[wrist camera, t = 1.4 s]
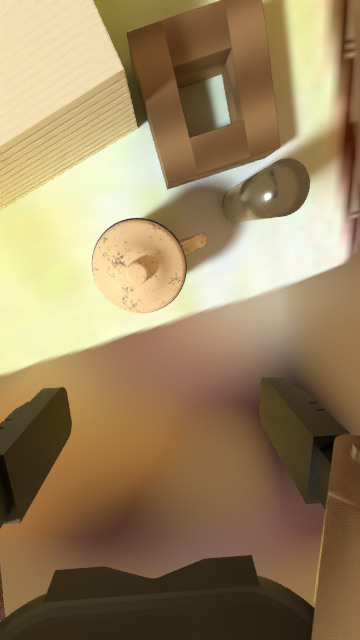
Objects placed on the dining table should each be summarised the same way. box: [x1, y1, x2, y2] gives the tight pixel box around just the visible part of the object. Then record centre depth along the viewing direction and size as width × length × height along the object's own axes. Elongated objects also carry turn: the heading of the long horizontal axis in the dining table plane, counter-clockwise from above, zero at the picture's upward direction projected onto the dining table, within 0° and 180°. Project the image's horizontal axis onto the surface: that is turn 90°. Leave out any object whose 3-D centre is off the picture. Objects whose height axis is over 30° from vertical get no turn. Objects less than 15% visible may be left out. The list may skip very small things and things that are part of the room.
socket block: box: [127, 0, 280, 190], centre depth 25 cm, size 12×12×4 cm
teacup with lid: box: [92, 218, 207, 313], centre depth 26 cm, size 12×9×12 cm
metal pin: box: [223, 158, 310, 222], centre depth 25 cm, size 4×4×12 cm
